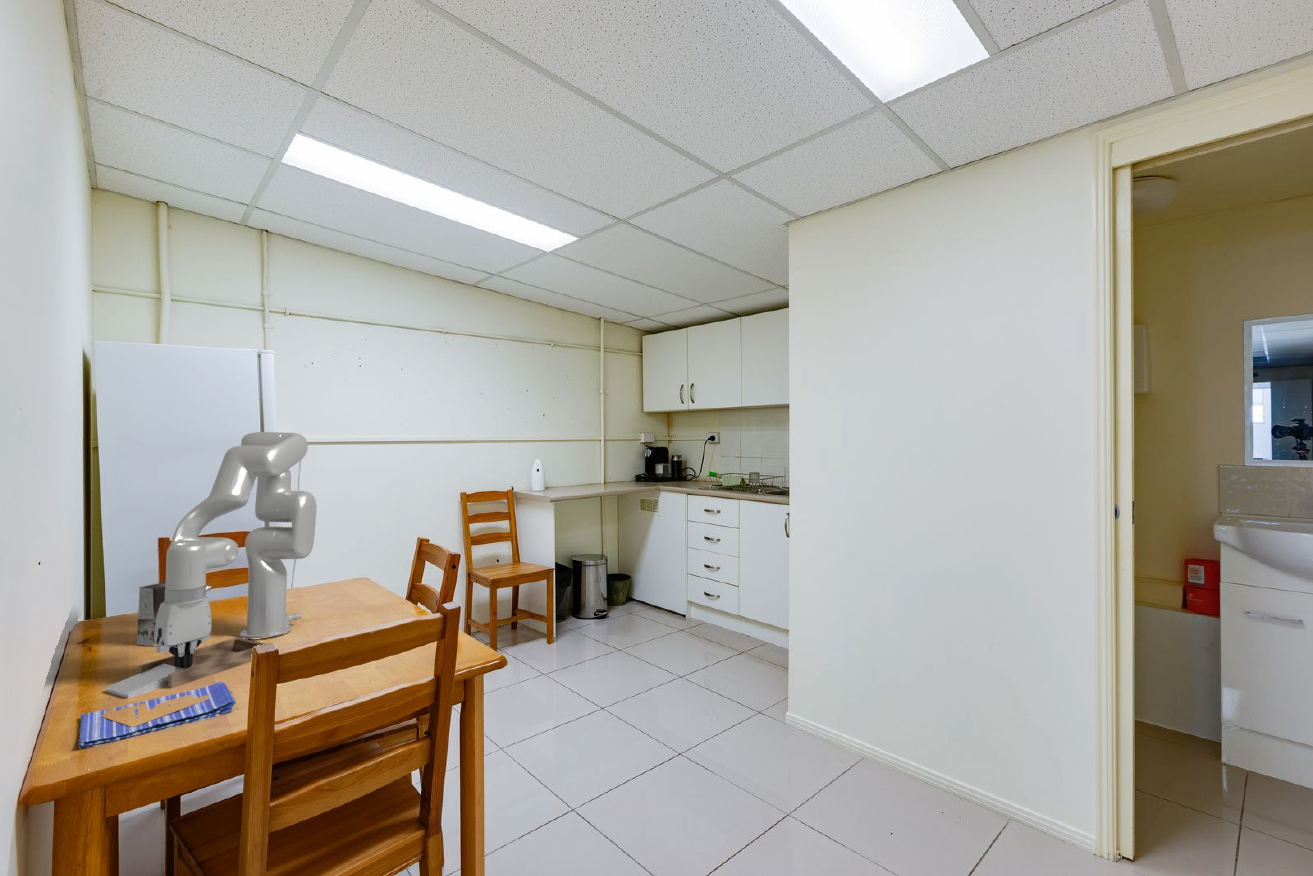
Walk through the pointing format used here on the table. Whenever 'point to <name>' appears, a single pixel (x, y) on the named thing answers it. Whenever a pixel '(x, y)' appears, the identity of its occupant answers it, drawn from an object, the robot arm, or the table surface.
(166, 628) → the robot arm
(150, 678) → the cover plate
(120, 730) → the dish towel
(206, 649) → the walnut box
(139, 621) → the cookie box
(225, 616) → the table surface
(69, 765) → the table surface
